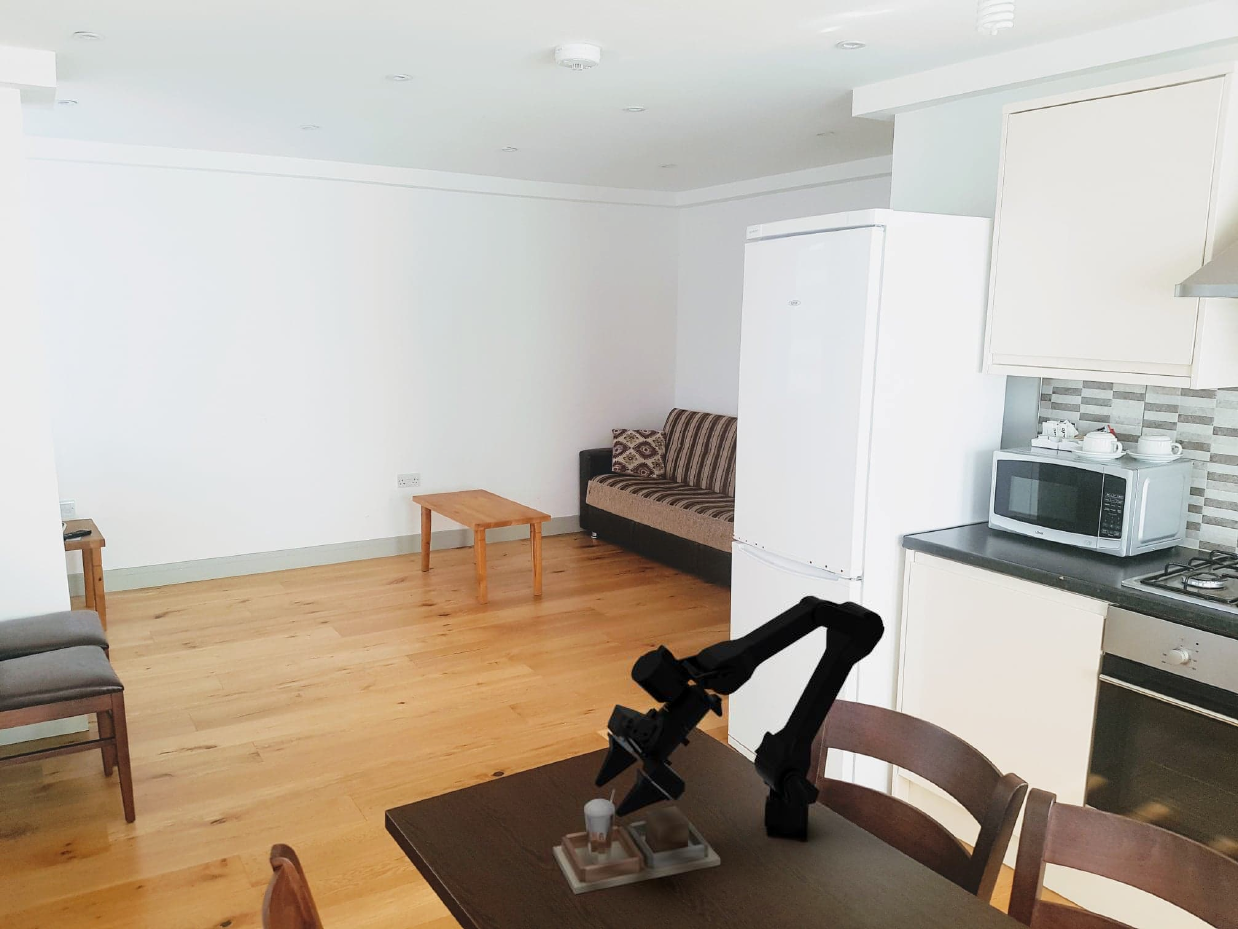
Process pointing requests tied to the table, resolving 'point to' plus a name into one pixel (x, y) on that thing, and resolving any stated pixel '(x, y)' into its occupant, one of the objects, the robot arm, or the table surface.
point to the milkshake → (600, 829)
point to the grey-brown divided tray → (637, 852)
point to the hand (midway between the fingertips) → (606, 800)
